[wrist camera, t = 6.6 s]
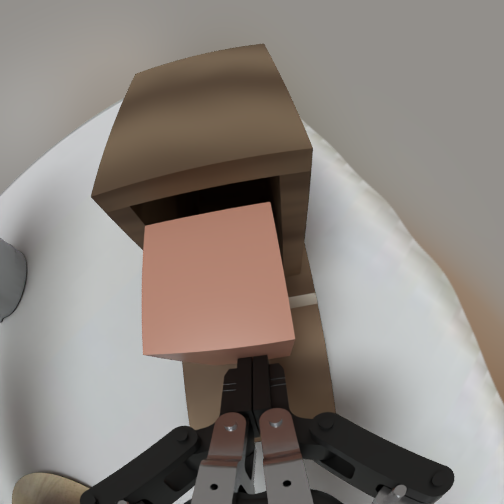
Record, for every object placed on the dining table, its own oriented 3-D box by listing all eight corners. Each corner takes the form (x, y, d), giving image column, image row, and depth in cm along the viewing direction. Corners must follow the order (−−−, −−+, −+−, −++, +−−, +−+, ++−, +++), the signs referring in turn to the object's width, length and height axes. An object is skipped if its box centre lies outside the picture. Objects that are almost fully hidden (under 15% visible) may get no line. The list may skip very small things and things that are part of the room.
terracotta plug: (289, 355, 17) (295, 339, 8) (215, 365, 17) (143, 354, 8) (278, 285, 19) (270, 201, 10) (208, 295, 19) (144, 225, 10)
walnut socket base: (334, 425, 16) (413, 502, 4) (197, 440, 16) (81, 505, 4) (284, 173, 25) (276, 42, 13) (182, 192, 26) (124, 78, 14)
